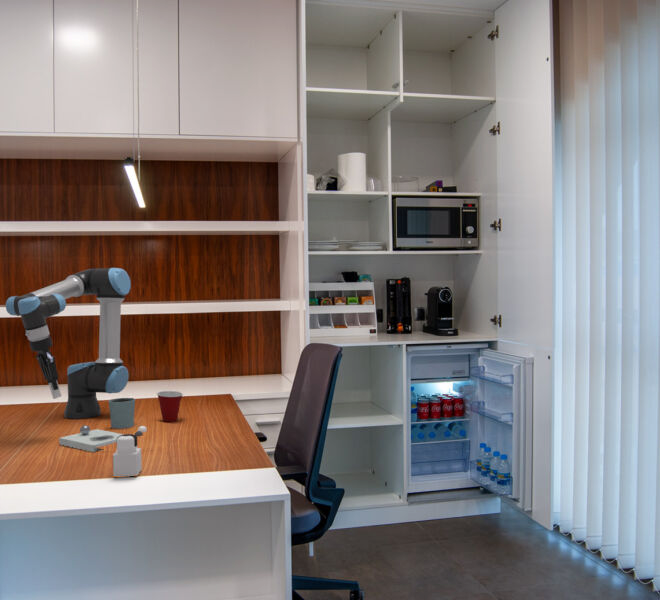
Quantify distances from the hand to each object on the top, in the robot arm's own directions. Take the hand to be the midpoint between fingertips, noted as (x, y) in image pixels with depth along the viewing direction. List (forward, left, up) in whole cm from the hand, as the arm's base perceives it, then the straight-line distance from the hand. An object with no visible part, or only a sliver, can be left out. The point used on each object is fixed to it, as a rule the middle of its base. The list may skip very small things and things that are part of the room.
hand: (57, 397), depth 250 cm
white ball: (+24, +20, -14) cm, 34 cm away
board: (+20, +2, -15) cm, 25 cm away
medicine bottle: (+61, -16, -16) cm, 65 cm away
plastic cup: (+14, +43, -16) cm, 48 cm away
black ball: (+28, +15, -14) cm, 35 cm away
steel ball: (+14, +2, -11) cm, 18 cm away
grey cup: (+10, +22, -16) cm, 29 cm away
